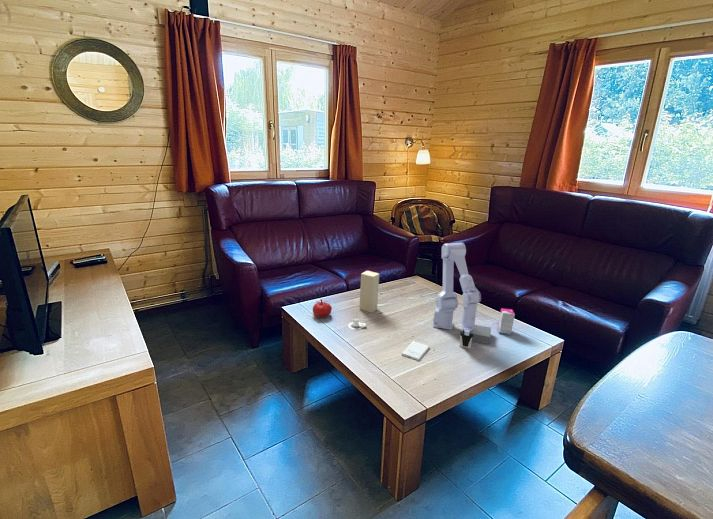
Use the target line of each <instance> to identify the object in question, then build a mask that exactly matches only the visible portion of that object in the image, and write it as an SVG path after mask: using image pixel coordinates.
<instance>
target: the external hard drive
mask: <svg viewBox="0 0 713 519" xmlns="http://www.w3.org/2000/svg"><path fill="white" fill-rule="evenodd" d="M429 349H430V345H428V344H424V343H420V342H418V341H413V340H412V342H411V343H410V344H409V345H408V346H406V348H405V349H404V350H403V351H402V353H401V356H404V357H406V358H411V359H412V360H416V361H420V360H421V359H422V358H423V356H424V355H425V354H426V353H427V351H428V350H429Z"/></svg>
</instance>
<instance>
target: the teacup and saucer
mask: <svg viewBox="0 0 713 519" xmlns="http://www.w3.org/2000/svg"><path fill="white" fill-rule="evenodd" d="M351 325H352V326H353V327H351ZM347 326H348V328H349V329H351V330H356V331H357V330H362V329H363V328H365V327H367V324H366V323H365V322H360V318H358V317H354V318H352V319H351V320H350V322H349V323H348V325H347ZM354 327H355V328H354ZM357 327H358V328H357Z"/></svg>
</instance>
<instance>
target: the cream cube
mask: <svg viewBox="0 0 713 519" xmlns="http://www.w3.org/2000/svg"><path fill="white" fill-rule="evenodd" d="M472 342H473V341H472V338H471V340H470V342H469V344H468V347H465V346H463V344H462V337H461V336H460V338H459V344H458V345H459V347H462V348H466V349H471V347H472Z"/></svg>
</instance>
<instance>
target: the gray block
mask: <svg viewBox="0 0 713 519" xmlns="http://www.w3.org/2000/svg"><path fill="white" fill-rule="evenodd" d="M476 325H477V328H473V329H472V330H471V332H470V333H471V334H473V337H472V342H478V343H482V344H487V345H490V344H491V338H492V337H491V336H492V335H491V334H492V333H491V332H492V327H491V326H485V325H484V326H483V325H478V324H476Z"/></svg>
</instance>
